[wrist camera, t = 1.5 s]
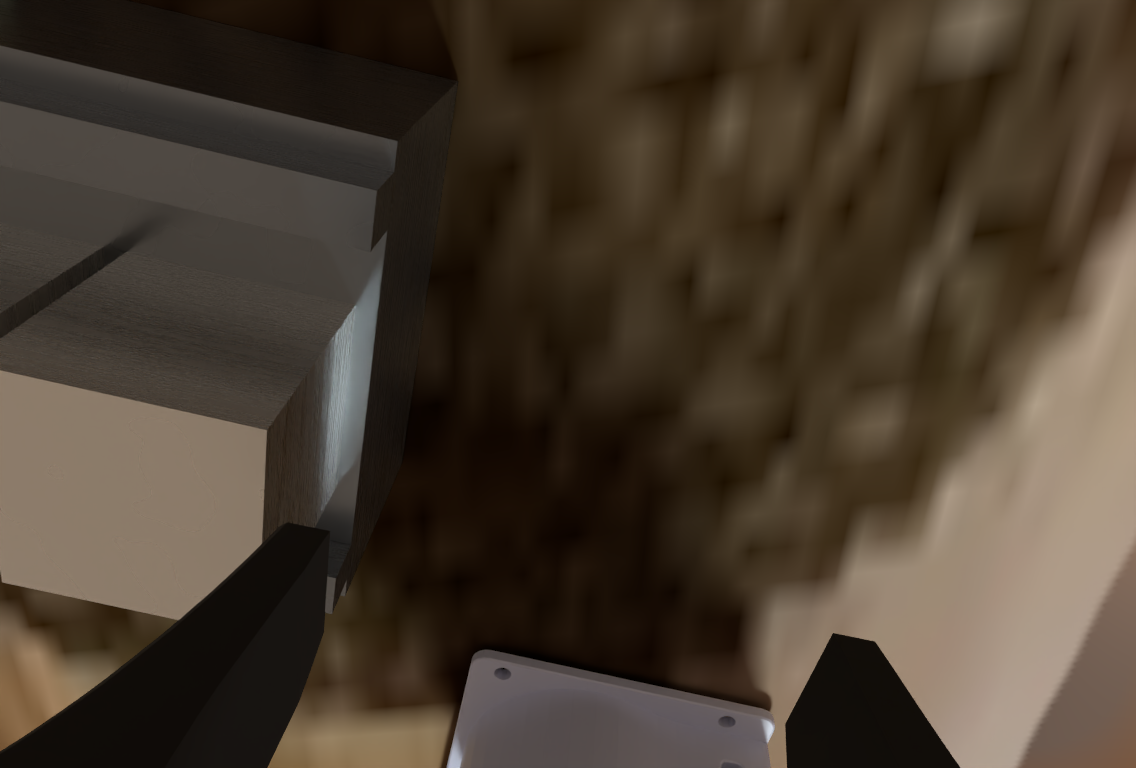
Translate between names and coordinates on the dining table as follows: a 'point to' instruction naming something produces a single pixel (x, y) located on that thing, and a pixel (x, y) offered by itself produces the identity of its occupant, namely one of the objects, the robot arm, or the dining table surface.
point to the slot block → (241, 186)
